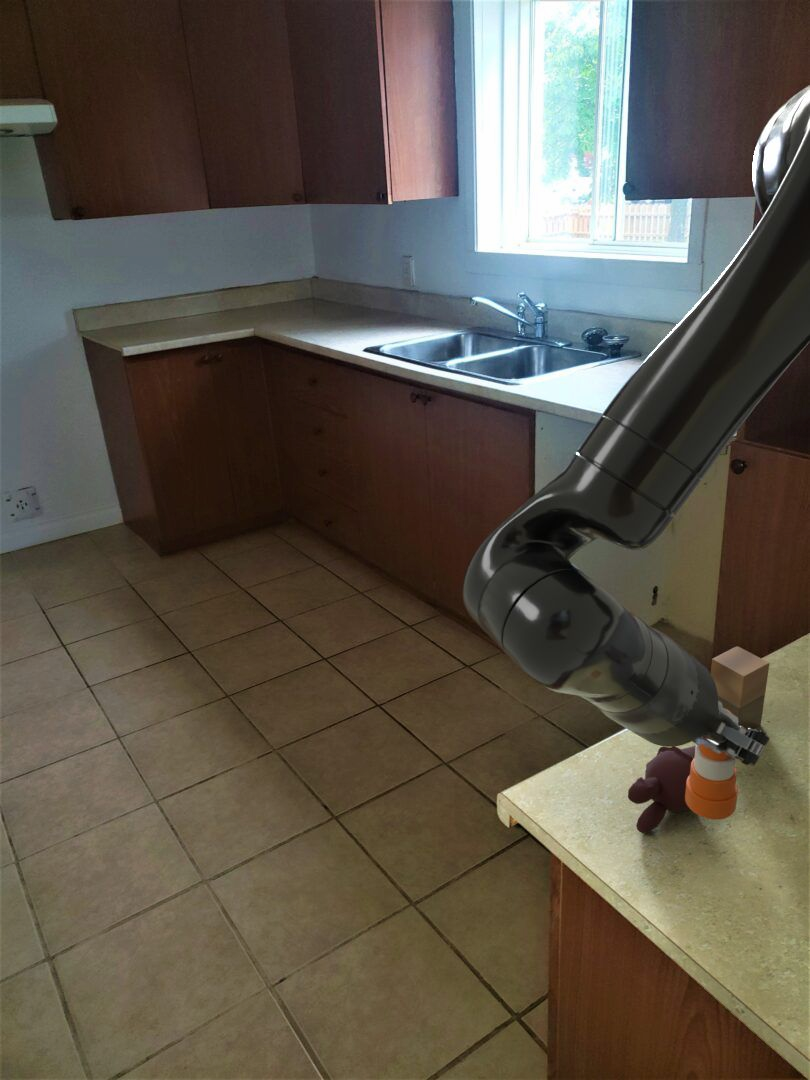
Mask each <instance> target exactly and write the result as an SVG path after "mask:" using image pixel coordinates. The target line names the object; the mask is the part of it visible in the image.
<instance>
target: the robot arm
mask: <svg viewBox="0 0 810 1080" xmlns="http://www.w3.org/2000/svg"><path fill="white" fill-rule="evenodd" d="M753 154H754V155H753V161H752V185H753V190H754V195H755V199H756V203H757V206H758V209H759V211H760V213H761V219H760V220H759V222H758V223H757V225H756V227H755V228H754V229H753V231H752V233H751V235H749V237H748V238H747V240H746V242H745V243H744V244H743V246H742V247H741V248H740V250H739V251H738V252H737V254H736V255H735V257H734V258H733V259H732V261H731V262H730V264H729V265H728V266H726V268H725V270H724V271H723V272H722V273H721V275H720V276H719V277H718V279H716V281H715V282H714V284H712V286H710V288H709V290H708V291H707V292H706V293H705V294H704V295H702V297H701V299H699V301H698V302H697V303H696V304H695V305H694V307H692V309H691V310H690V311H688V313H687V314H686V315H685V316H684V317H683V319H682V320H681V321H680V322H679V323H678V324H676V326H675V327H674V328H673V329H672V331H670V332H669V334H667V336H665V338H663V340H661V342H660V343H659V344H658V345H657V346H656V347H655V348H654V349H653V350H652V351H651V352H650V354H649V355H647V357H646V358H645V359H644V360H643V361H642V362H641V364H640V365H639V366H638V367H637V368H636V369H635V371H634V372H633V373H632V374H631V375H630V377H629V378H628V379H627V380H626V381H625V382H624V384H623V385H622V387H621V388H620V389H619V390H618V392H617V393H616V394H615V396H614V397H613V398H612V400H611V401H610V402H609V404H608V405H607V407H606V408H605V410H604V411H603V412H602V415H600V417H599V418H598V420H597V421H596V423H595V424H594V425H593V427H592V428H591V430H590V431H589V432H588V434H587V435H586V437H585V438H584V440H583V441H582V443H581V444H580V445H579V447H578V448H577V452H575V453H574V454H573V455H572V457H571V459H570V460H569V462H568V464H567V465H566V467H564V468H563V470H562V471H561V472H559V474H558V475H556V476H555V477H554V478H553V479H552V480H551V481H549V482H548V483H547V484H545V485H544V486H543V487H542V488H540V489H539V490H538V491H537V492H536V493H535V494H534V495H532V496H531V498H529V499H528V500H527V501H526V502H525V503H524V504H522V505H521V506H520V507H519V508H518V509H517V510H516V511H515V512H513V513H512V514H511V515H510V516H509V517H508V518H506V519H505V520H504V521H503V522H502V523H501V524H499V525H498V526H497V527H496V528H495V529H494V530H493V531H492V532H491V533H490V534H489V535H487V537H485V539H484V540H482V542H481V544H479V546H478V547H477V548H476V550H475V551H474V553H473V555H472V556H471V558H470V560H469V562H468V564H467V567H466V569H465V573H464V576H463V582H462V589H461V590H462V601H463V605H464V608H465V609H466V611H467V613H468V615H469V616H470V617H471V618H472V620H473V621H474V622H475V623H476V625H478V626H479V627H480V628H481V630H483V631H484V632H485V634H487V635H488V637H489V638H490V639H491V640H492V641H493V642H494V643H495V644H496V645H497V646H498V647H499V648H500V649H501V651H503V653H504V654H505V655H506V656H507V657H508V658H509V659H510V660H511V661H512V662H513V664H514V665H516V667H518V668H519V670H521V671H522V672H523V673H524V674H525V675H526V676H527V677H529V678H530V679H532V680H533V681H534V682H536V683H538V684H539V685H540V686H542V687H544V688H545V689H547V690H549V691H552V692H555V693H556V694H557V693H558V694H563V695H571V696H577V697H579V698H581V699H583V700H585V701H587V702H588V703H590V704H591V705H593V706H594V707H596V708H597V709H598V710H599V711H600V712H601V713H602V714H603V715H604V716H606V718H609V720H612V721H613V722H615V723H616V724H618V725H620V726H622V727H623V728H625V729H626V730H628V731H630V732H632V733H634V734H636V735H637V736H639V738H642V739H643V740H645V741H647V742H649V743H650V744H653V745H656V746H661V747H669V748H670V747H674V746H675V747H680V746H684V745H687V744H689V743H694V744H696V745H697V744H698V745H701V744H702V745H704V746H705V747H707V748H709V749H711V750H712V751H714V752H716V753H718V754H719V753H721V752H723V751H724V752H726V753H725V754H726V755H728V756H730V757H731V756H733V757H735V758H736V760H738V761H740V762H741V764H743V765H744V766H750V767H754V766H756V764H757V762H758V761H759V759H760V757H761V755H762V753H763V751H764V749H765V748H766V746H767V744H768V742H769V740H770V737H769V736H768V735H767V733H766V732H764V731H762V730H759V731H758V730H757V729H751V728H748V729H747V731H746V729H745V728H744V727H742V726H739V725H738V722H739V719H738V717H736V716H735V715H733V714H732V713H730V712H729V711H727V710H726V709H724V708H723V705H722V703H721V702H720V701H718V693H717V688H716V684H715V682H714V679H713V677H712V676H711V672H710V671H709V670H708V668H707V667H706V666H705V665H703V663H701V662H700V661H699V660H697V659H696V658H695V657H694V656H693V655H692V654H691V653H689V652H688V651H687V650H686V649H684V648H683V647H681V646H680V645H679V644H678V643H677V642H675V641H674V640H673V639H672V638H671V637H670V636H668V635H667V634H665V633H663V632H661V631H660V630H657V629H656V628H653V627H652V626H651V625H650V624H648V623H647V622H646V621H645V620H644V619H642V618H641V617H640V616H639V615H637V614H636V613H634V612H633V611H631V609H629V608H627V607H625V606H624V605H622V604H621V603H620V602H619V601H618V600H617V599H616V598H615V597H614V596H613V595H611V594H610V592H609V591H607V590H606V589H605V588H604V587H602V586H601V585H600V584H599V583H598V582H596V581H595V580H594V579H593V578H592V577H590V576H589V575H588V574H587V573H586V572H584V571H583V570H582V569H581V568H580V567H578V566H577V565H576V564H575V563H573V562H572V561H571V558H572V557H573V556H574V555H575V554H577V553H578V552H579V551H580V550H581V549H583V548H585V547H586V546H587V545H589V544H591V543H592V542H594V541H596V540H598V539H602V540H604V541H606V542H608V543H611V544H613V545H616V546H618V547H622V548H624V549H627V550H631V551H632V550H633V551H639V550H644V549H647V548H648V547H650V546H651V545H653V544H654V543H655V541H656V540H657V539H658V538H659V537H660V536H661V534H662V533H663V532H664V531H665V529H667V527H668V526H669V524H670V523H671V521H672V520H673V519H674V516H676V515H677V513H678V512H679V511H680V509H681V508H682V507H683V505H684V504H685V503H686V502H687V500H688V499H689V497H690V496H691V495H692V494H693V492H694V491H695V489H696V488H697V486H698V485H699V484H700V482H701V481H702V479H703V478H704V476H705V475H706V474H707V472H708V471H709V470H710V469H711V467H712V466H713V464H714V463H715V462H716V460H717V459H718V457H719V456H720V455H721V453H722V452H723V450H724V449H725V448H726V446H727V445H728V444H729V442H730V441H731V440H732V438H733V437H734V436H735V434H736V433H737V431H738V430H739V429H740V428H741V426H742V425H743V424H744V423H745V421H746V420H747V418H748V417H749V416H750V415H751V413H752V412H753V410H754V409H755V408H756V406H757V405H758V404H759V403H760V402H761V400H762V399H763V398H764V396H766V395H767V393H768V392H769V391H770V390H771V388H772V387H773V386H774V385H775V383H776V382H777V381H778V380H779V378H780V377H781V376H782V375H783V374H784V372H785V371H786V370H787V369H788V368H789V366H790V365H791V364H792V363H793V362H794V360H795V359H796V358H797V357H799V355H800V354H801V352H802V351H803V350H804V349H805V348H806V346H808V344H809V343H810V84H809V85H808V86H806V87H805V88H803V89H802V90H800V91H799V92H798V93H796V94H795V95H793V96H792V97H791V98H789V99H788V100H787V101H786V102H784V103H783V104H782V105H781V106H780V107H779V108H778V109H777V110H776V111H775V113H774V114H773V115H772V116H771V117H770V118H769V120H768V121H767V123H766V125H765V126H764V127H763V130H762V131H761V133H760V135H759V138H758V140H757V143H756V146H755V150H754V153H753ZM673 515H674V516H673ZM702 736H703V737H702ZM704 737H705V738H707V739H705V738H704Z"/></svg>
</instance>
